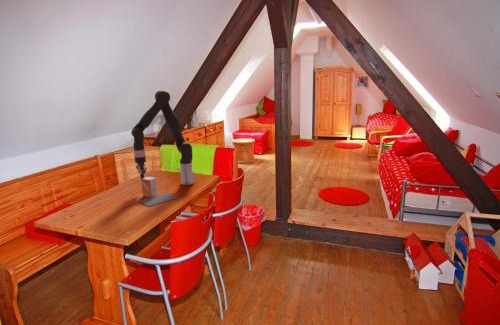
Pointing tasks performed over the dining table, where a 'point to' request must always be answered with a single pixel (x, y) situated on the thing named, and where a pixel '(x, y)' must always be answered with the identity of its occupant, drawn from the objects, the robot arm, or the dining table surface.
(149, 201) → the slate mat
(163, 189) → the dining table surface
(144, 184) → the small box
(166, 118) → the robot arm
